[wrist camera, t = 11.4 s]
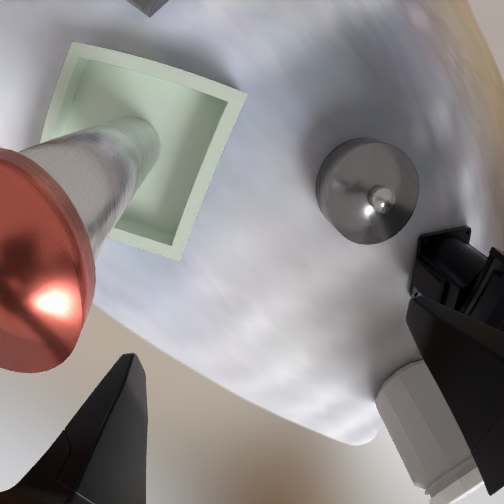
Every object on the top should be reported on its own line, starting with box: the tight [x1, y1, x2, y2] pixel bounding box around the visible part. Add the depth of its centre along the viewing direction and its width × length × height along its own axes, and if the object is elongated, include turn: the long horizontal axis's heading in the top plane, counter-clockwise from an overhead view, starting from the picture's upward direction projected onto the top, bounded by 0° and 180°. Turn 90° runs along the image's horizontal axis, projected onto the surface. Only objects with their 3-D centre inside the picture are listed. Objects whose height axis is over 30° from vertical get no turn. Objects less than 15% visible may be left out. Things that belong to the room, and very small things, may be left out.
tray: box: [40, 42, 248, 261], centre depth 17 cm, size 11×11×2 cm
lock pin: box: [0, 117, 161, 373], centre depth 11 cm, size 5×5×15 cm
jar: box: [375, 360, 484, 504], centre depth 27 cm, size 10×10×18 cm
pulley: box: [316, 138, 419, 245], centre depth 20 cm, size 7×7×3 cm
